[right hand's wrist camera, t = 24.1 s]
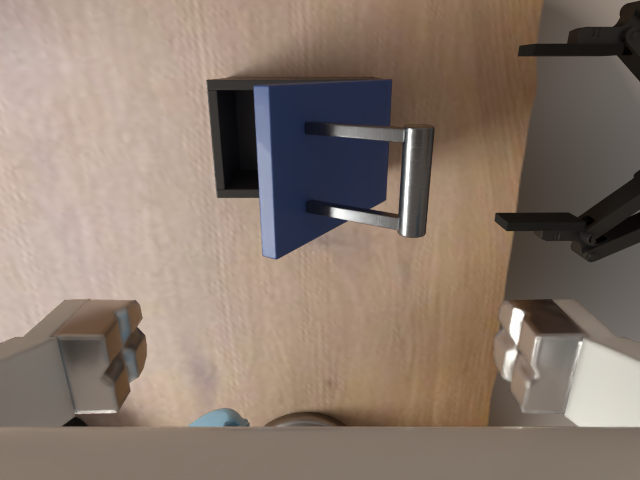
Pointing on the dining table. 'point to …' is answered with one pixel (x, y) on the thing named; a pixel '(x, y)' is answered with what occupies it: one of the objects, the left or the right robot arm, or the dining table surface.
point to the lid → (334, 161)
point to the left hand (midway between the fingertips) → (512, 141)
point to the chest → (241, 131)
